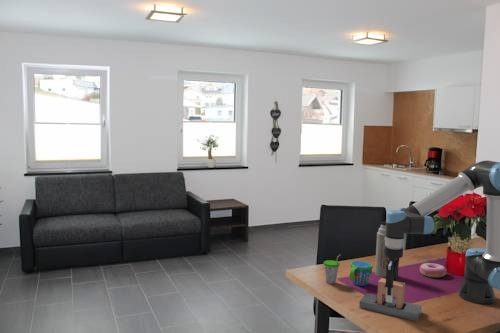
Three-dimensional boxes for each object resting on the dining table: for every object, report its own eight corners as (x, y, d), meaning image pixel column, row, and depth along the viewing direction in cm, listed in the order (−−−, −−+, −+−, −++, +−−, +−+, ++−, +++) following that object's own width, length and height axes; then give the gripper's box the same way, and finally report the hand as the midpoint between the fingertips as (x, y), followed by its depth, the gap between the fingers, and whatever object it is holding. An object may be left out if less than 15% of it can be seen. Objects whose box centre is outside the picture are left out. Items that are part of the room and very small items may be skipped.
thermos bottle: (391, 277, 233) (394, 224, 230) (375, 276, 235) (378, 223, 231) (390, 272, 240) (393, 221, 237) (374, 271, 242) (377, 220, 239)
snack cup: (363, 277, 232) (364, 258, 231) (379, 284, 223) (380, 264, 222) (341, 283, 223) (342, 263, 222) (357, 290, 215) (358, 269, 214)
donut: (444, 272, 244) (445, 263, 243) (448, 280, 231) (448, 271, 230) (418, 269, 248) (419, 260, 247) (420, 277, 235) (420, 268, 234)
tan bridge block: (403, 305, 193) (404, 282, 191) (400, 309, 188) (402, 286, 187) (379, 300, 198) (381, 278, 196) (376, 303, 193) (378, 281, 192)
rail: (421, 312, 191) (422, 305, 191) (417, 321, 183) (417, 314, 182) (365, 299, 203) (366, 293, 203) (359, 307, 195) (359, 301, 194)
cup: (319, 282, 224) (320, 253, 222) (328, 278, 229) (330, 250, 228) (332, 286, 218) (333, 256, 217) (341, 282, 224) (343, 253, 222)
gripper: (390, 240, 200) (386, 291, 202) (379, 250, 184) (376, 304, 187) (407, 243, 196) (404, 294, 198) (398, 253, 180) (394, 309, 183)
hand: (390, 299), depth 193 cm, fingers closed on tan bridge block, 5 cm apart
